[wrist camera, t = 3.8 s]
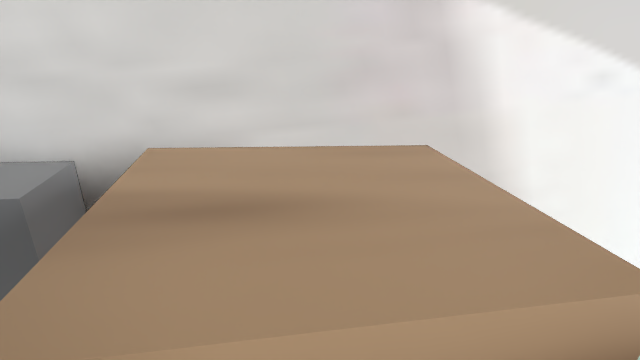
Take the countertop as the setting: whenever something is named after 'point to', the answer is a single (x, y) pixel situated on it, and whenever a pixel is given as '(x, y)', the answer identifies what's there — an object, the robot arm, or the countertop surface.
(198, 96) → the countertop surface
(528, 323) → the walnut block
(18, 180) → the grey slotted square board
